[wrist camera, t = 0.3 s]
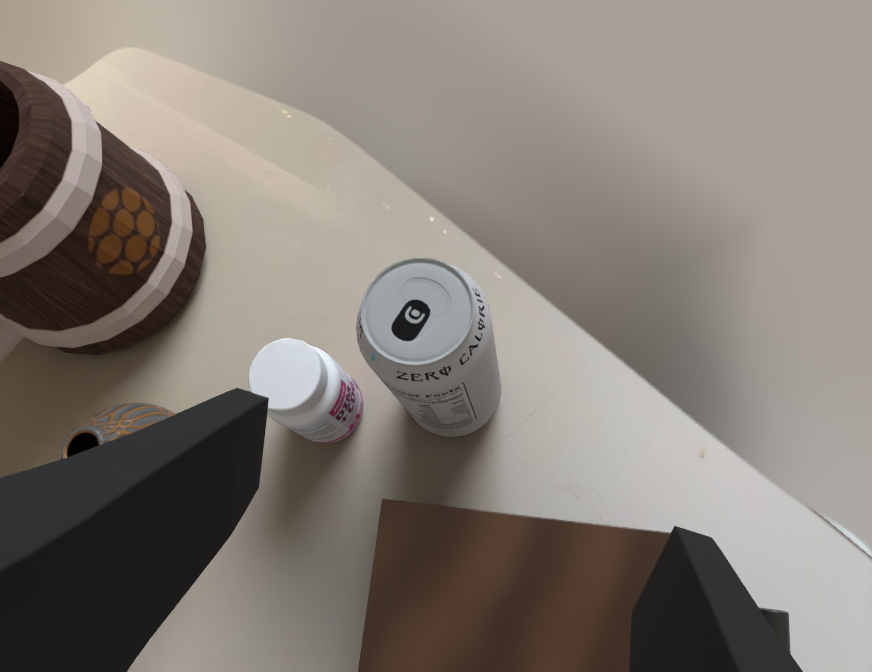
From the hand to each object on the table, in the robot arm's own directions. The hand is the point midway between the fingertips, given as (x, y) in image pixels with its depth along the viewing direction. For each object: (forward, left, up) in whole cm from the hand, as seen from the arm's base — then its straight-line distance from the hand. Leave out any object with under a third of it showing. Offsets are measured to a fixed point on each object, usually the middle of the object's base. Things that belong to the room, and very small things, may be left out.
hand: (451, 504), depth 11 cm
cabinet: (-5, -1, -29) cm, 29 cm away
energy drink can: (+8, +4, -29) cm, 30 cm away
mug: (+14, +31, -29) cm, 44 cm away
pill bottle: (+7, +12, -29) cm, 32 cm away
